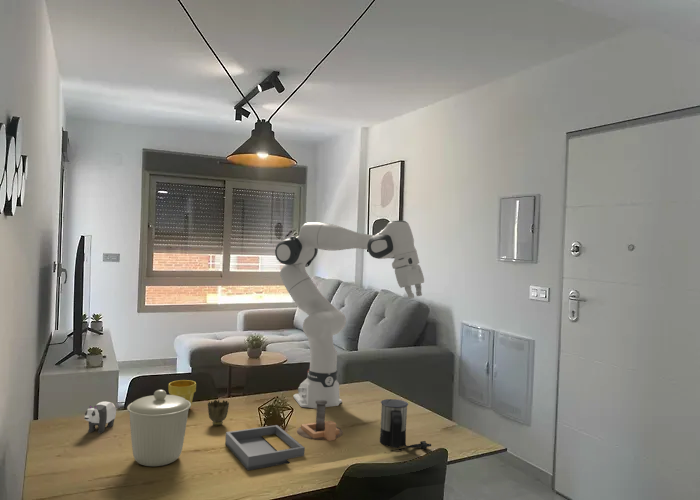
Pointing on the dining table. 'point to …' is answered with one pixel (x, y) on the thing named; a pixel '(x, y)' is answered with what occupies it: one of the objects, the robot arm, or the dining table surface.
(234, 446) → the tray
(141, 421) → the canister
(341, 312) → the robot arm
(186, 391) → the plant pot
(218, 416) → the cup
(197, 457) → the dining table surface
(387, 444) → the milk frother
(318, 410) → the stand
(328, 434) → the tabbed ring
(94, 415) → the giant panda
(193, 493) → the dining table surface
